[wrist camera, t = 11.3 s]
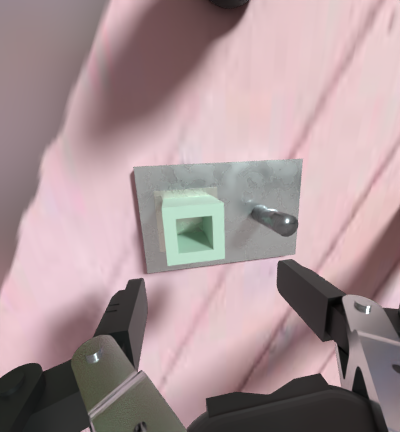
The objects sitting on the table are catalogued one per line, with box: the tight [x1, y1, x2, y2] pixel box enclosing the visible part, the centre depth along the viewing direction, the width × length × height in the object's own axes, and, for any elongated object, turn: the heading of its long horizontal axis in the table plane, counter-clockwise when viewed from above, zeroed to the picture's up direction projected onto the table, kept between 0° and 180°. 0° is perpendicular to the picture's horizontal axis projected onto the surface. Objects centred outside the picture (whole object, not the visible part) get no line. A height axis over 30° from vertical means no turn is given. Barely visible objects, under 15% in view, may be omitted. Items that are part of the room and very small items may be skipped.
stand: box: [133, 159, 303, 273], centre depth 23 cm, size 22×14×8 cm, turn 93°
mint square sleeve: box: [162, 195, 225, 266], centre depth 21 cm, size 6×6×6 cm
